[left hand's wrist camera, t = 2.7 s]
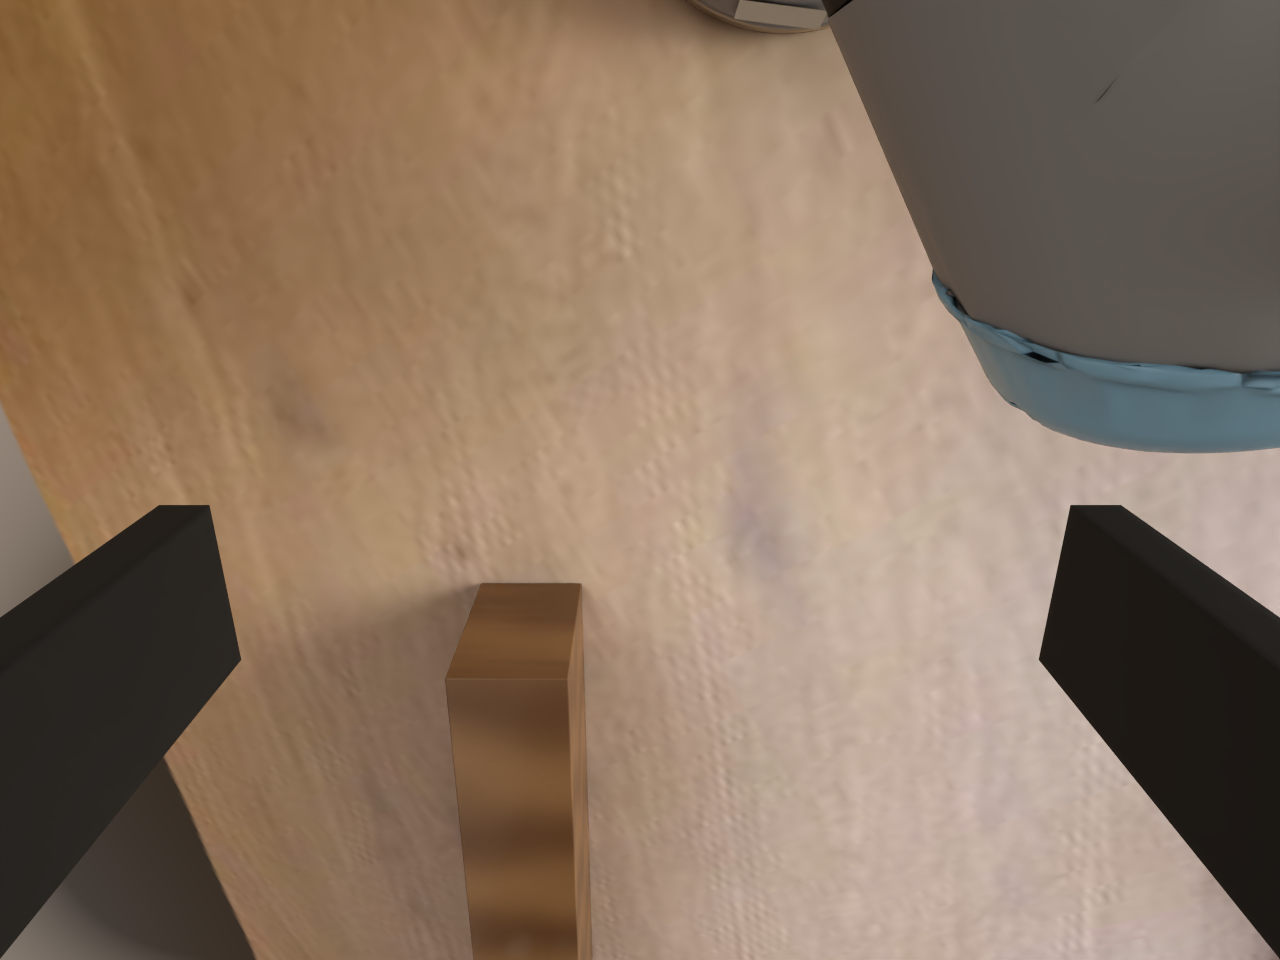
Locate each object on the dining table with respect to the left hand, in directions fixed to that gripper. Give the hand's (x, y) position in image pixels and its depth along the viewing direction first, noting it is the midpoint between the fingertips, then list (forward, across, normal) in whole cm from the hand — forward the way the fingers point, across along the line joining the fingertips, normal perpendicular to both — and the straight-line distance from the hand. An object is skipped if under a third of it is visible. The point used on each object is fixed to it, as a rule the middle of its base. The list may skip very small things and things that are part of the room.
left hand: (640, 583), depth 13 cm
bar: (+27, -6, -29) cm, 40 cm away
